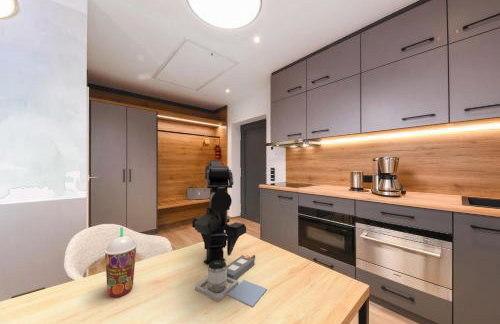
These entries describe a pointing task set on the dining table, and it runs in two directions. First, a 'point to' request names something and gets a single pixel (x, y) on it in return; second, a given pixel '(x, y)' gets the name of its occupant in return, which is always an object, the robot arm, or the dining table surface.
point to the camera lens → (217, 276)
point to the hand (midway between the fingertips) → (217, 251)
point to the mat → (247, 293)
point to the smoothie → (120, 265)
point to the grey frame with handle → (229, 276)
